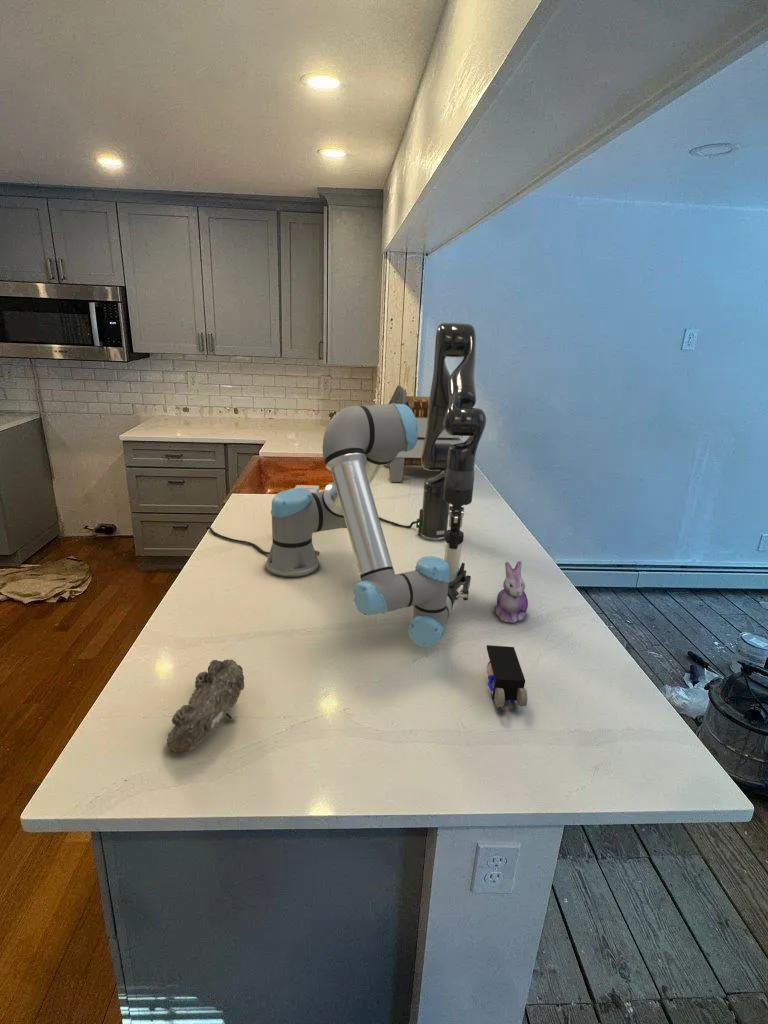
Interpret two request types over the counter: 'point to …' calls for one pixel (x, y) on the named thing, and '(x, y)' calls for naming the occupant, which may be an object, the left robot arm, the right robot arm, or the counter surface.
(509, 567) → the figurine
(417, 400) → the transformer
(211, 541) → the counter surface
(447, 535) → the lid
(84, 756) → the counter surface
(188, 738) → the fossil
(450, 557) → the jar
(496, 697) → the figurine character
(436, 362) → the right robot arm
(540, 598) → the counter surface
